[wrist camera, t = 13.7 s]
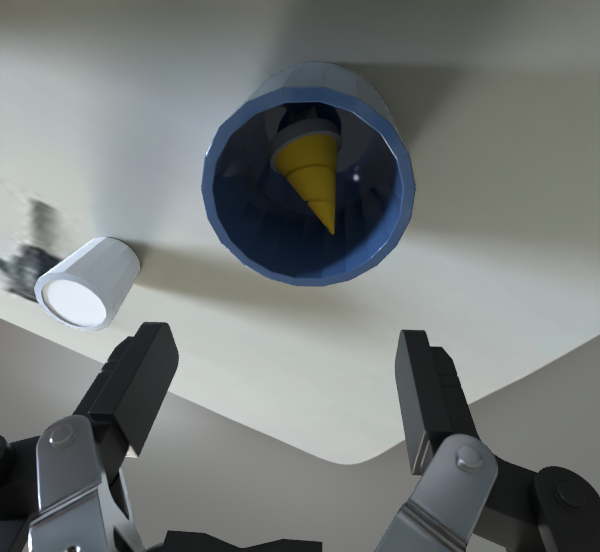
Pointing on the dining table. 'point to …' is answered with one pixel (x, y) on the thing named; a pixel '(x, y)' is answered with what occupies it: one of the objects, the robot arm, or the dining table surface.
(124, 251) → the white cylinder
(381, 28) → the dining table surface
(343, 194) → the cup
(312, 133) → the drill bit
